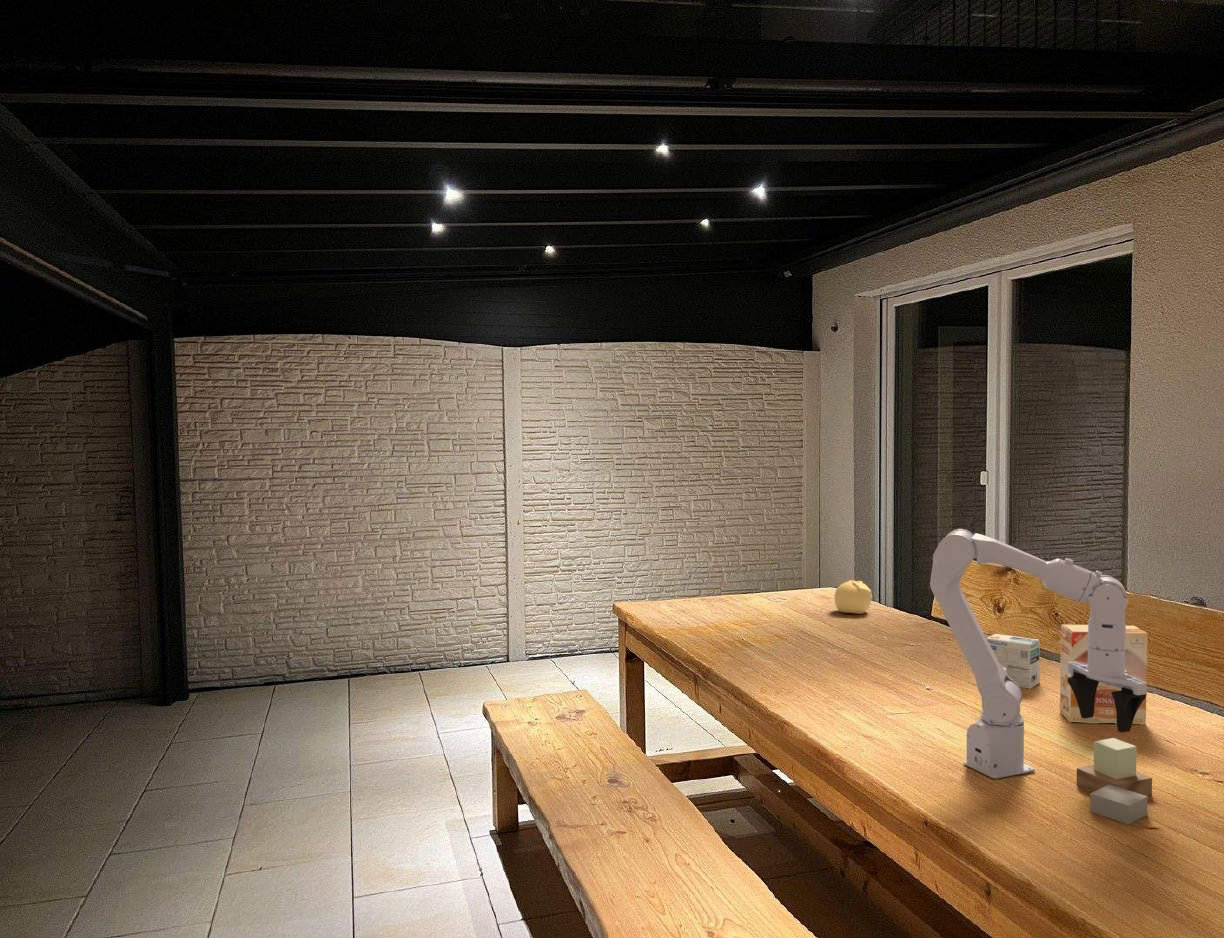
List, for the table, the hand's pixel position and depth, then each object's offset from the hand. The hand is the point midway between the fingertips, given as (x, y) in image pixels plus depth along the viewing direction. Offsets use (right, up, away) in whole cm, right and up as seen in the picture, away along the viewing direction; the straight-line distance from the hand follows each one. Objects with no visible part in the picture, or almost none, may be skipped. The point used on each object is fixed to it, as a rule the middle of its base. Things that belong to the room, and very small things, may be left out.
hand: (1105, 724), depth 158 cm
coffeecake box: (+18, -9, +34) cm, 39 cm away
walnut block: (0, -11, -3) cm, 11 cm away
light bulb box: (+11, -7, +61) cm, 62 cm away
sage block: (0, -8, -3) cm, 8 cm away
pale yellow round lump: (-6, -3, +142) cm, 142 cm away
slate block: (-4, -11, -12) cm, 17 cm away
